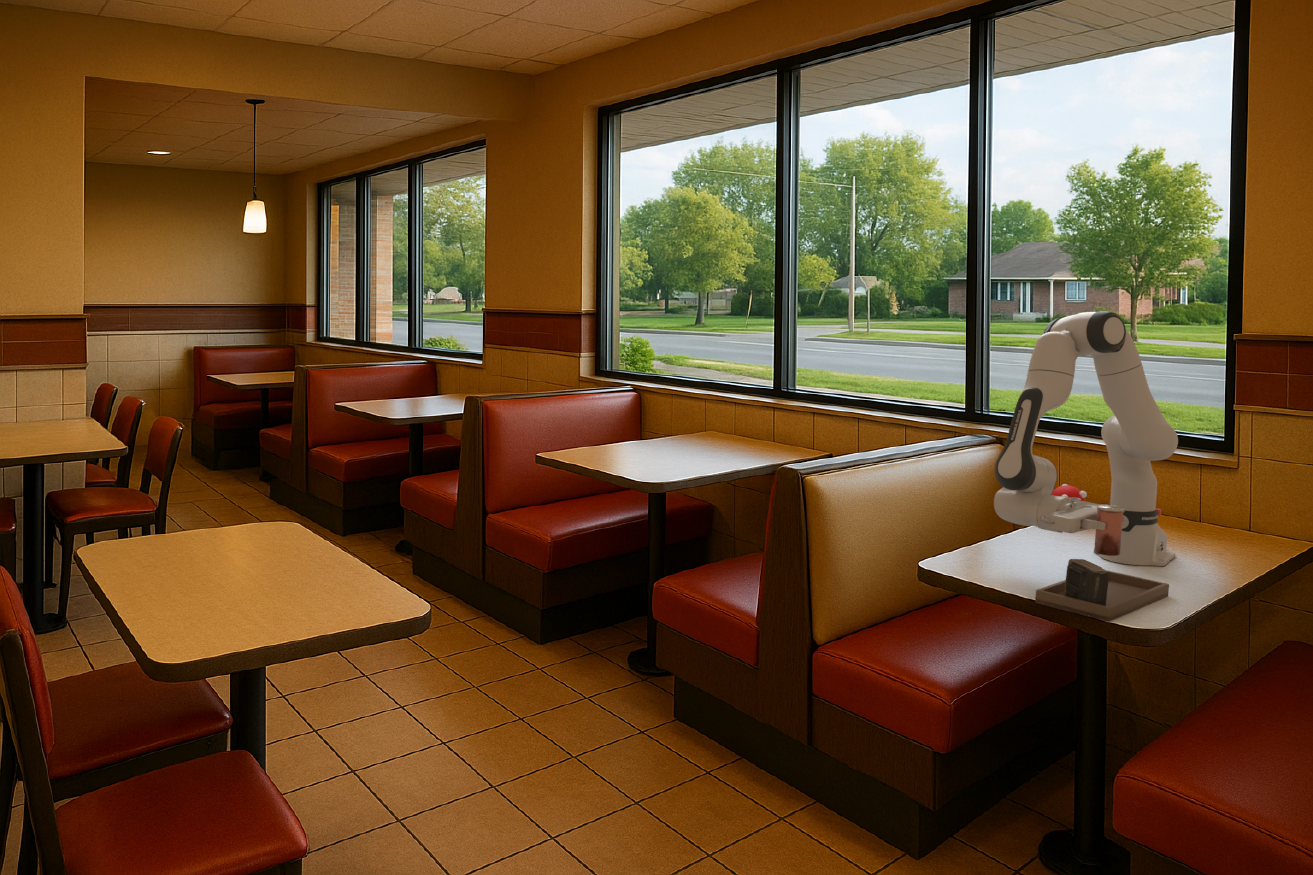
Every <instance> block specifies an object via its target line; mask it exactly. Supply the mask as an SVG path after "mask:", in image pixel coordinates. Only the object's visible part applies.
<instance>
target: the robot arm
mask: <svg viewBox="0 0 1313 875" xmlns="http://www.w3.org/2000/svg"><path fill="white" fill-rule="evenodd" d="M1126 328H1127V327H1126V326H1125V323H1124V321H1123V319H1122V317H1120V315H1119V314H1118V313H1116V312H1113V311H1108V310H1098V311H1085V312H1078V313H1077V314H1072V315H1068V316H1060V317H1058V318H1055V319H1053V320H1051V321H1050V322H1049V323H1048V324H1047V326H1046V327H1045V328H1044V331H1043V333H1042V334H1041V335H1040V336H1039V337H1038V339H1037V340H1036V343H1035V345H1034V347H1033V351H1032V354H1031V358H1030V360H1029V365H1028V369H1027V374H1026V380H1025V384H1024V387H1023V390H1022V392H1021V394H1020V395H1019V397H1018V400H1017V402H1016V404H1015V408H1014V411H1013V415H1012V419H1011V423H1010V426H1009V429H1008V432H1007V438H1006V440H1005V444H1004V446H1003V448H1002V450H1001V452H1000V453H999V455H998V457H997V459H996V461H995V463H994V476H995V479H996V481H997V482H998V484H999V485H1000V486H1001V487H1002V488H1000V489H999V490H997V491H996V493H995V494H994V498H993V507H994V511H995V513H996V515H997V516H998V517H999V518H1000V519H1001V520H1002V521H1003V520H1004V521H1005V522H1009V523H1011V524H1015V525H1021V526H1024V527H1025V526H1026V527H1036V528H1038V529H1041V530H1045V531H1050V532H1055V533H1060V534H1061V533H1062V534H1063V533H1067V534H1074V533H1078V532H1082V531H1085V530H1096V529H1099V530H1105V529H1107V522H1103V521H1096V520H1097V505H1100V504H1099V503H1093V502H1089V501H1086V500H1085V501H1081V499H1080V498H1073V497H1070V498H1067V497H1061V496H1054V495H1052V492H1053V491H1054V490H1055V487H1056V484H1057V481H1058V472H1057V468H1056V466H1055V464H1054V463H1053V462H1052V461H1051V460H1050V459H1048V458H1045V457H1042V456H1039V455H1036V454H1035V455H1034V454H1033V453H1034V452H1033V445H1034V441H1035V438H1036V434H1037V430H1038V425H1039V423H1040V420H1041V419H1042V417H1043V416H1044V415H1045V414H1046V413H1048V412H1050V411H1052V410H1055V409H1058V408H1060V407H1062V406H1063V405H1064V404H1065V403H1067V401H1068V400H1069V397H1070V396H1071V393H1072V389H1073V384H1074V379H1075V372H1076V362H1077V359H1078V358H1079V357H1086V356H1090V357H1092V360H1093V364H1094V368H1095V369H1094V370H1095V373H1096V376H1097V379H1098V384H1099V387H1100V390H1101V393H1102V398H1103V401H1104V402H1105V404H1106V406H1108V408H1109V409H1110V410H1111V412H1112V414H1113V416H1112V415H1111V416H1110V417H1108V418H1107V419H1106V420H1105V421H1104V423H1103V424H1102V427H1101V434H1100V435H1101V438H1102V440H1103V443H1104V444H1105V447H1106V451H1107V455H1108V460H1109V466H1110V472H1111V473H1110V474H1111V475H1110V476H1111V477H1110V478H1111V486H1110V500H1109V505H1116V506H1121V507H1123V508H1124V511H1123V522H1122V535H1121V548H1120V555H1117V556H1108V555H1101V554H1098V556H1099V557H1101V559H1104V560H1107V561H1110V562H1112V563H1113V562H1114V563H1118V564H1125V565H1134V566H1156V567H1157V566H1158V567H1165V566H1166V565H1168V563H1169V562H1171V561H1172V560H1173V559H1174V558H1175V557H1176V552H1175V551H1172V550H1170V549H1167V546H1168V534H1166V532H1164V530H1163V528H1161V527H1160V525H1159V524H1158V522H1159V520H1158V518H1159V517H1160V516H1161V515H1162V508H1156V507H1157V506H1156V505H1157V495H1158V479H1157V477H1156V475H1155V474H1154V471H1153V467H1152V463H1151V462H1153V461H1155V462H1156V461H1163V460H1165V459H1168V458H1170V457H1172V455H1173V454H1174V453H1175V452H1176V451H1177V447H1178V445H1179V437H1178V434H1177V432H1176V431H1175V428H1173V427H1172V426H1171V425H1170V424H1169V423H1168V420H1166V418H1165V417H1164V414H1163V413H1162V411H1161V410H1160V407H1159V406H1158V404H1157V401H1155V398H1154V397H1153V394H1152V392H1151V389H1150V387H1149V384H1148V379H1147V377H1146V374H1145V373H1146V372H1145V371H1144V367H1143V364H1142V359H1141V357H1140V353H1139V351H1138V348H1137V346H1136V343H1135V342H1134V340H1133V337H1132V336H1131V334H1130V332H1129V331H1128V330H1127V329H1126ZM1170 560H1171V561H1170Z"/></svg>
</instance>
